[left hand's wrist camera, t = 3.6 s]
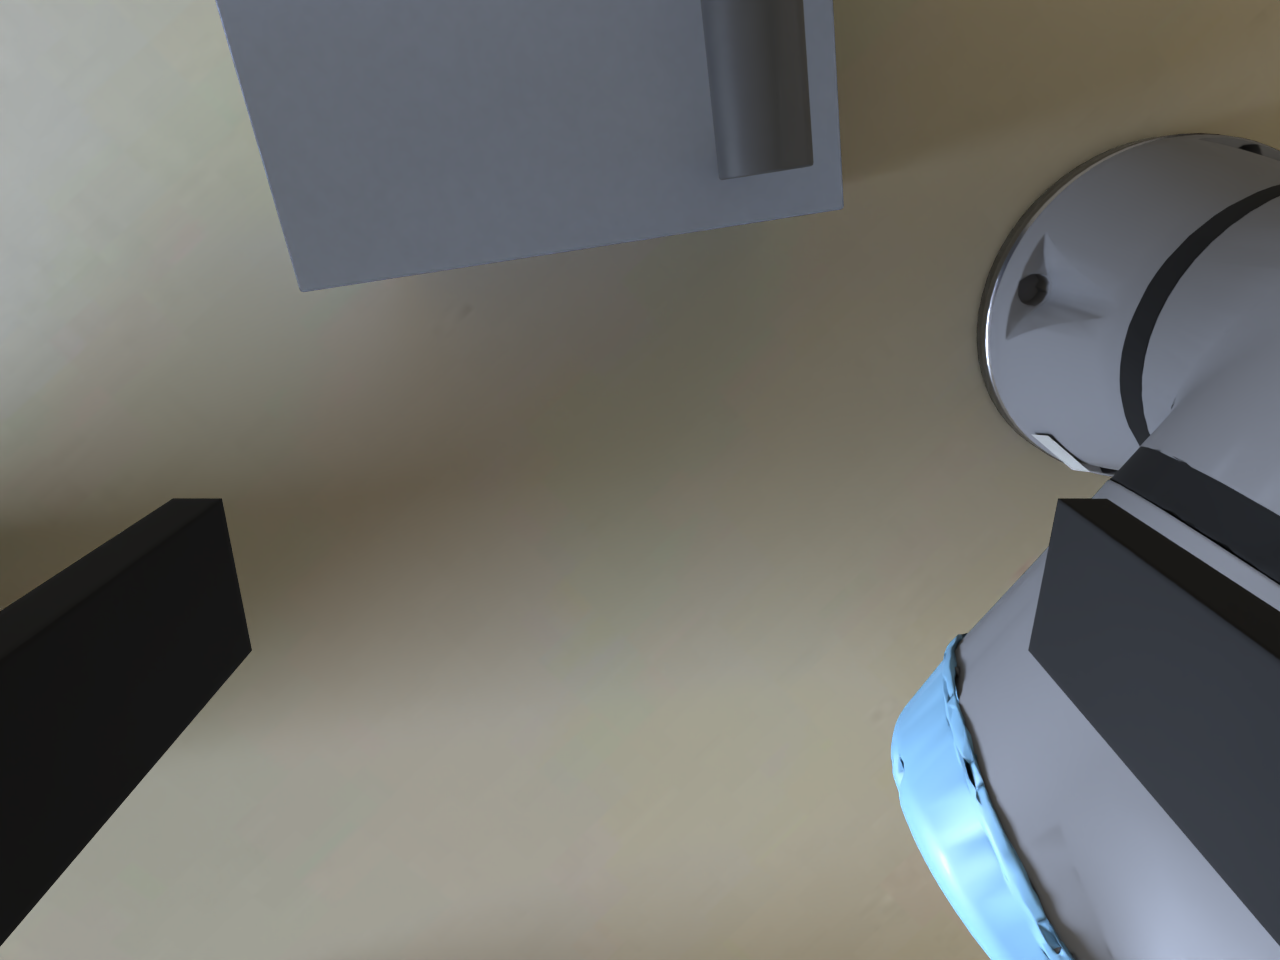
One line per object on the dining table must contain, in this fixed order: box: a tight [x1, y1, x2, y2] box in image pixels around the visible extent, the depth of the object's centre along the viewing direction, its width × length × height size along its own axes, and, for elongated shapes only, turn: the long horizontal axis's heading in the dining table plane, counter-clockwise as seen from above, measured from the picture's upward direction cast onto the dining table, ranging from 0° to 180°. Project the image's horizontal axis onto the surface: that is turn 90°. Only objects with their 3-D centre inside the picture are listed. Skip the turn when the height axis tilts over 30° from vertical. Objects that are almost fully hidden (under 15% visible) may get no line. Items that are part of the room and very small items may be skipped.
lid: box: [215, 0, 844, 292], centre depth 20 cm, size 18×10×9 cm, turn 98°
